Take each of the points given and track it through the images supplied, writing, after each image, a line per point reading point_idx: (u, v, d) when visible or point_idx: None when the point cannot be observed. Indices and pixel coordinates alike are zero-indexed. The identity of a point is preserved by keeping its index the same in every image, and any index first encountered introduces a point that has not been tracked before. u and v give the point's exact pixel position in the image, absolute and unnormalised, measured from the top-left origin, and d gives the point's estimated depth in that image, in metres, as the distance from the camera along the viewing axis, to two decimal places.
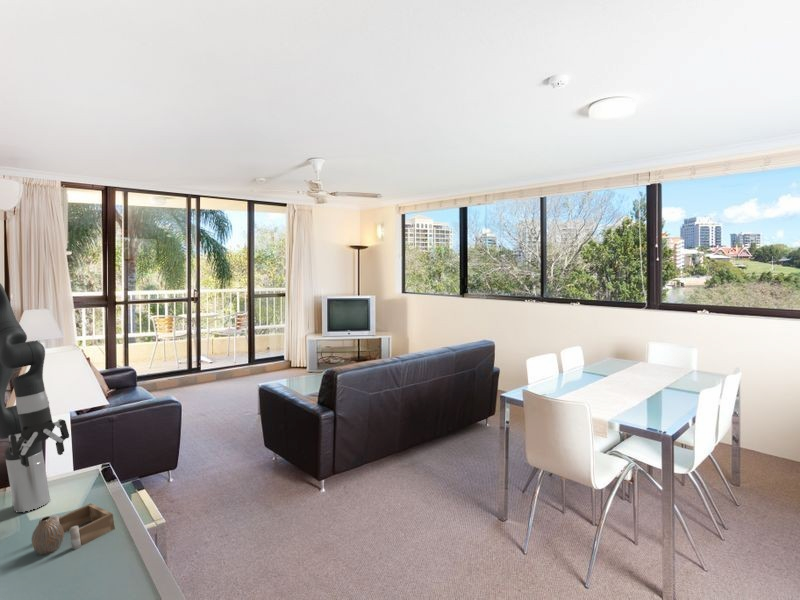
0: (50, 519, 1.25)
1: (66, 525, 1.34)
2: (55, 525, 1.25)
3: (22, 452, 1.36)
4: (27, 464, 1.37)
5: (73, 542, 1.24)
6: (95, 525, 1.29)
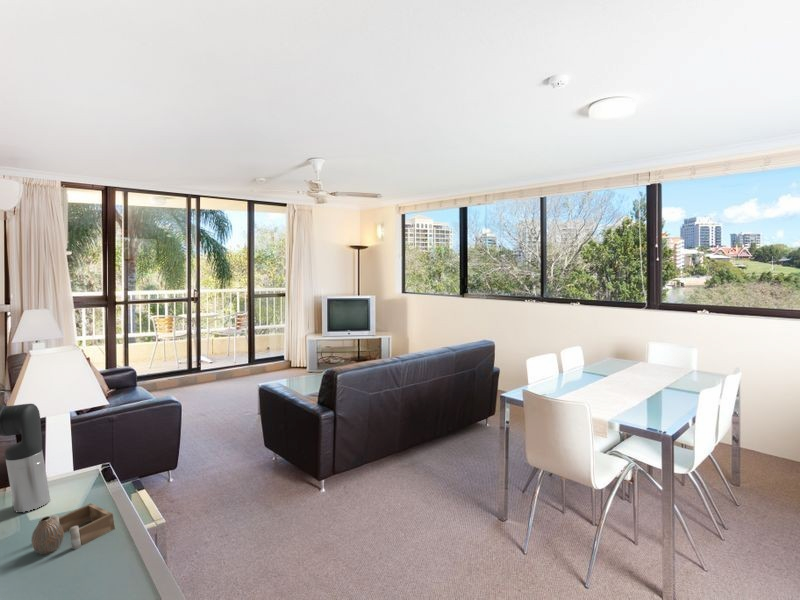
0: (49, 519, 1.25)
1: (66, 525, 1.34)
2: (55, 525, 1.25)
3: None
4: None
5: (73, 542, 1.24)
6: (95, 525, 1.29)
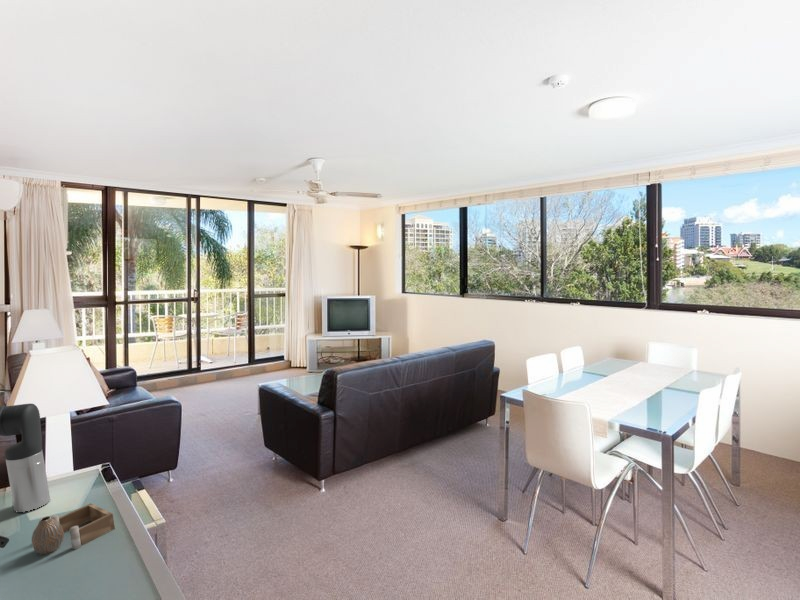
0: (49, 519, 1.25)
1: (66, 525, 1.34)
2: (55, 525, 1.25)
3: None
4: None
5: (73, 542, 1.24)
6: (95, 525, 1.29)
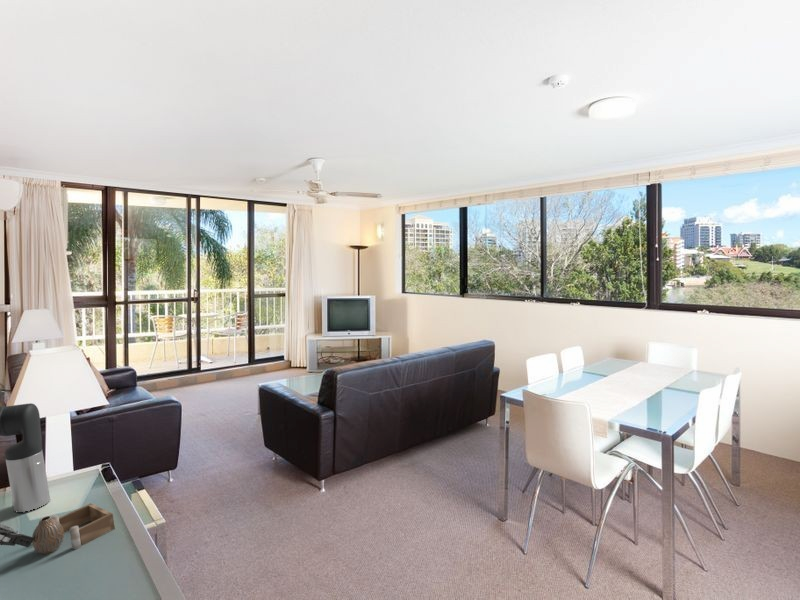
0: (50, 518, 1.25)
1: (66, 525, 1.34)
2: (55, 525, 1.25)
3: None
4: (23, 545, 1.21)
5: (73, 542, 1.24)
6: (95, 525, 1.29)
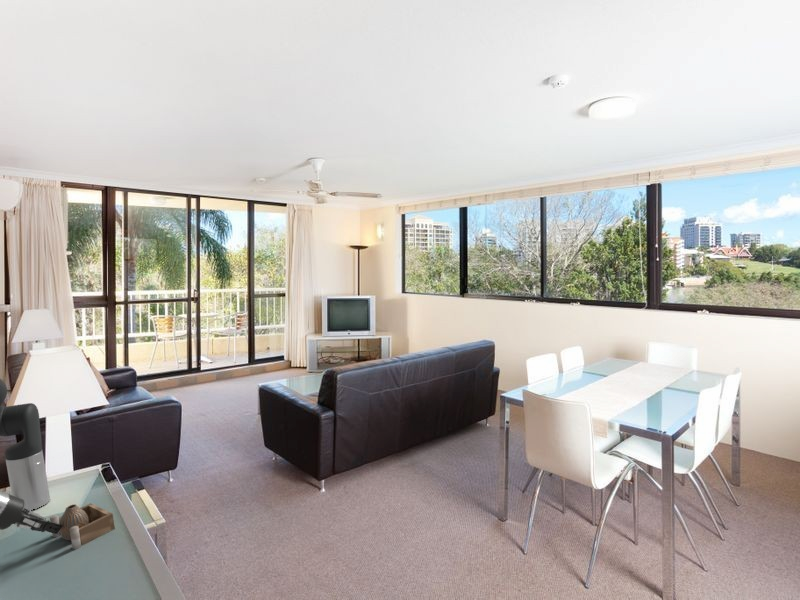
0: (76, 506, 1.30)
1: None
2: (82, 512, 1.31)
3: None
4: (52, 532, 1.26)
5: (73, 542, 1.24)
6: (95, 525, 1.29)
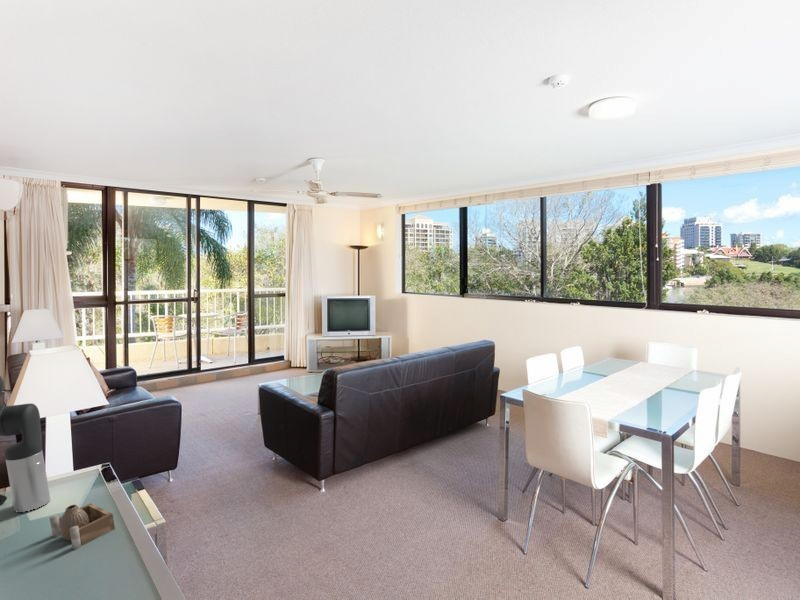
0: (76, 506, 1.30)
1: None
2: (82, 512, 1.31)
3: None
4: None
5: (73, 542, 1.24)
6: (95, 525, 1.29)
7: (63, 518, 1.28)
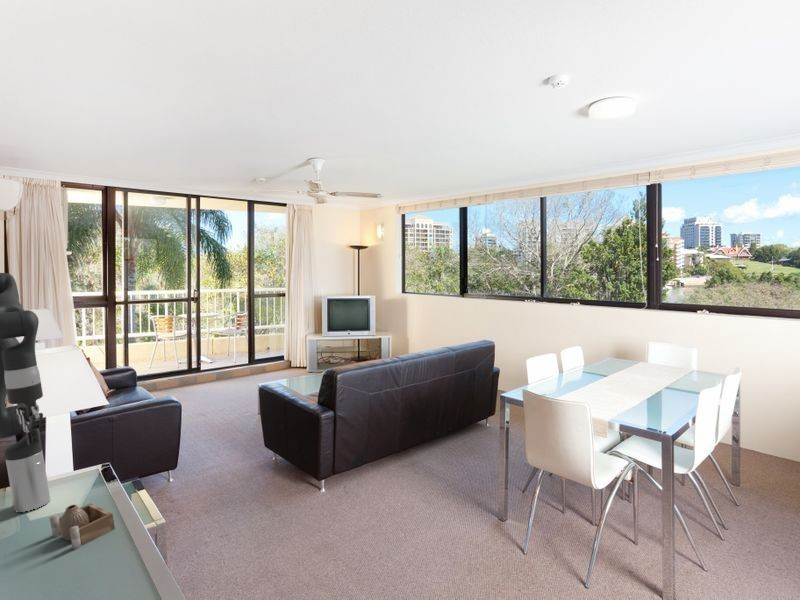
0: (76, 506, 1.30)
1: None
2: (82, 512, 1.31)
3: (23, 428, 1.29)
4: (27, 442, 1.29)
5: (73, 542, 1.24)
6: (95, 525, 1.29)
7: (63, 518, 1.28)
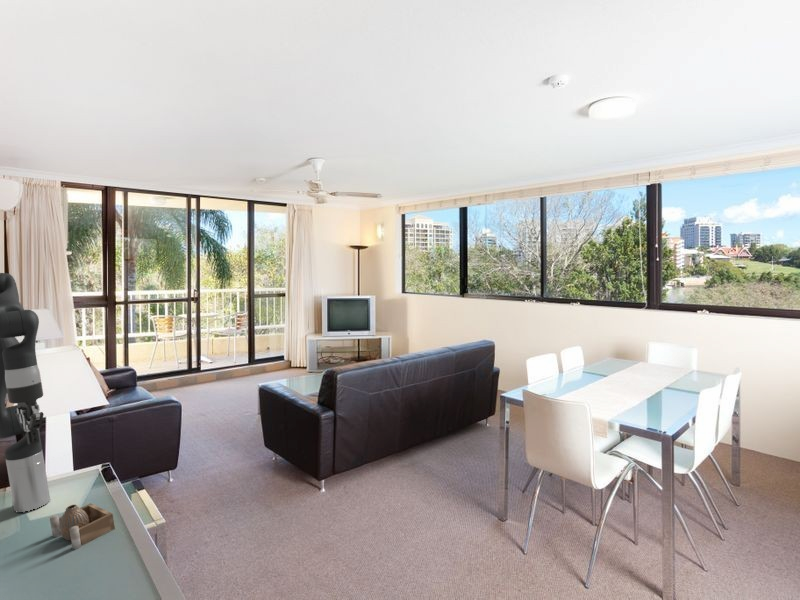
0: (76, 506, 1.30)
1: None
2: (82, 512, 1.31)
3: (24, 428, 1.29)
4: (27, 442, 1.29)
5: (73, 542, 1.24)
6: (95, 525, 1.29)
7: (63, 518, 1.28)
